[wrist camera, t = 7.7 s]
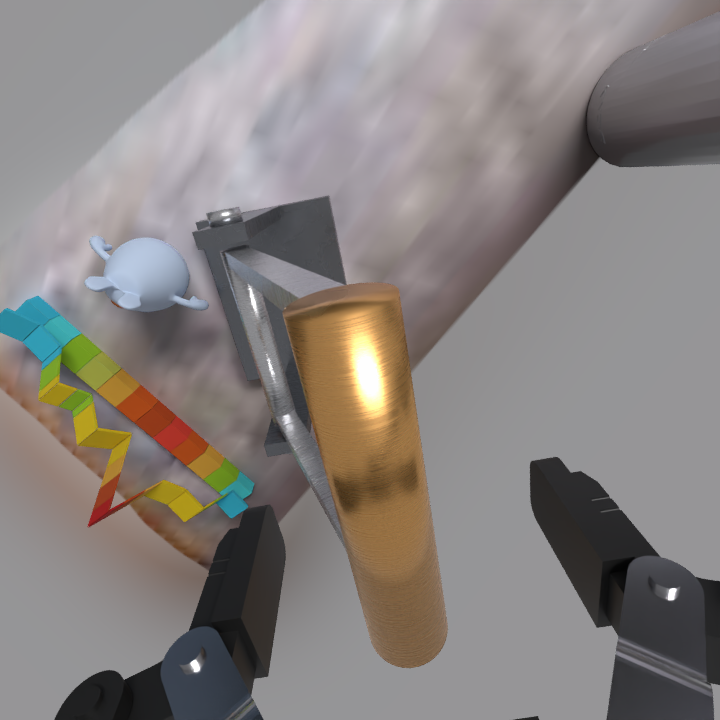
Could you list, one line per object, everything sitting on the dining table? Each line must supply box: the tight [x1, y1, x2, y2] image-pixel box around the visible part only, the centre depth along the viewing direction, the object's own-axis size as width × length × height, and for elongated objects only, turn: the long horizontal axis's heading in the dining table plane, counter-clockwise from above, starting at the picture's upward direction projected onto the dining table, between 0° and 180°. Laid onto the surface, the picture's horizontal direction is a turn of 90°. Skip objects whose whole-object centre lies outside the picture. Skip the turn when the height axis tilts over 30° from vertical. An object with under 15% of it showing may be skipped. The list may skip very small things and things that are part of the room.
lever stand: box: [192, 196, 347, 457], centre depth 34 cm, size 12×18×16 cm
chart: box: [0, 296, 254, 527], centre depth 40 cm, size 30×3×15 cm, turn 38°
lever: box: [220, 245, 448, 668], centre depth 21 cm, size 3×13×20 cm, turn 12°
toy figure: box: [85, 236, 209, 312], centre depth 34 cm, size 11×6×12 cm, turn 55°
